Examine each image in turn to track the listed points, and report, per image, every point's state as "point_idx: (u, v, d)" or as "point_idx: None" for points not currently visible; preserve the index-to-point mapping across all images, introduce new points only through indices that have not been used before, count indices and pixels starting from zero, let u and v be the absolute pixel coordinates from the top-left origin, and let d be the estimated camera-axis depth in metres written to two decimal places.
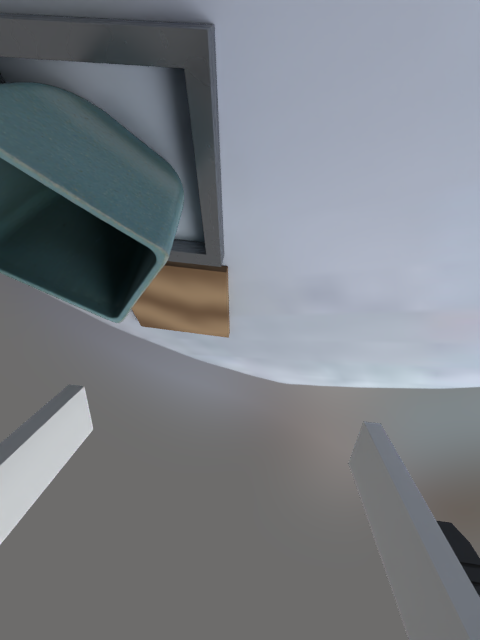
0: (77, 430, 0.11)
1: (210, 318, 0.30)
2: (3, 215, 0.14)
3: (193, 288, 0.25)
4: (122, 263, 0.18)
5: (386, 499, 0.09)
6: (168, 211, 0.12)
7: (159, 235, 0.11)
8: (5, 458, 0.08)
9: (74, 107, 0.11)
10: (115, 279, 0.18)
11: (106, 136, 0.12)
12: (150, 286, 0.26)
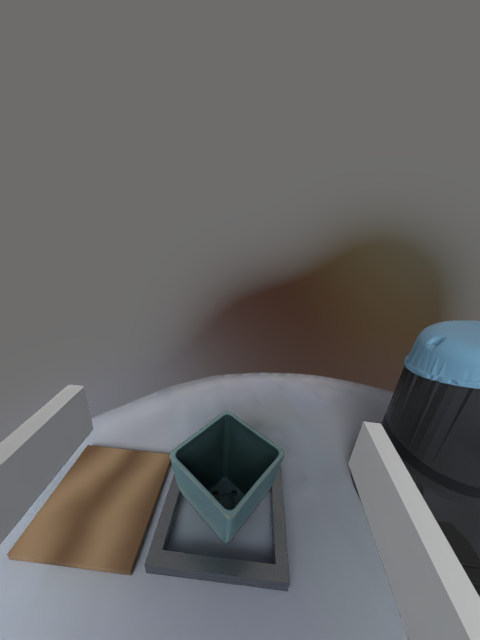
0: (77, 430, 0.11)
1: (64, 533, 0.25)
2: (230, 433, 0.31)
3: (120, 523, 0.26)
4: None
5: (386, 499, 0.09)
6: (234, 527, 0.22)
7: (235, 517, 0.21)
8: (5, 458, 0.08)
9: (264, 495, 0.27)
10: (184, 465, 0.27)
11: (256, 505, 0.26)
12: (135, 479, 0.30)
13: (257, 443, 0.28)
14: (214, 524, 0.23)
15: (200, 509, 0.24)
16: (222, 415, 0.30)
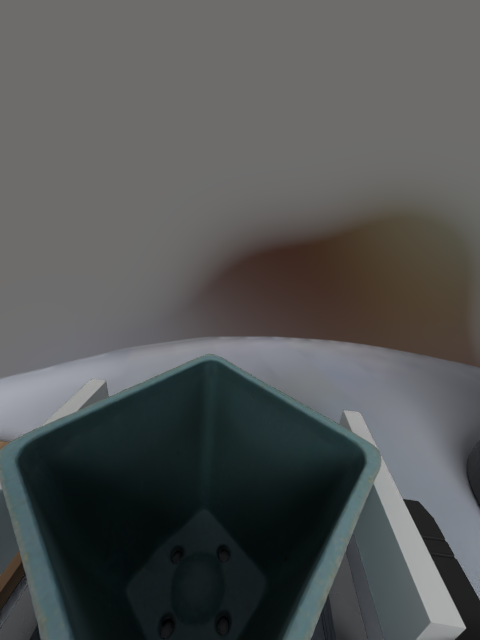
0: None
1: None
2: (219, 407, 0.13)
3: None
4: (89, 509, 0.10)
5: None
6: None
7: None
8: None
9: None
10: (78, 485, 0.09)
11: None
12: None
13: (288, 427, 0.10)
14: None
15: None
16: (199, 361, 0.13)
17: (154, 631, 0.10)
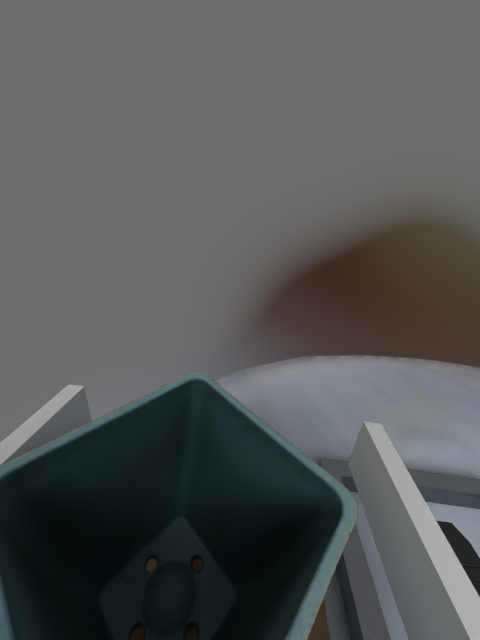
0: None
1: None
2: (202, 424, 0.13)
3: None
4: (64, 529, 0.10)
5: (386, 499, 0.09)
6: None
7: None
8: (5, 458, 0.08)
9: None
10: (52, 510, 0.09)
11: None
12: None
13: (269, 459, 0.10)
14: None
15: None
16: (186, 380, 0.12)
17: None
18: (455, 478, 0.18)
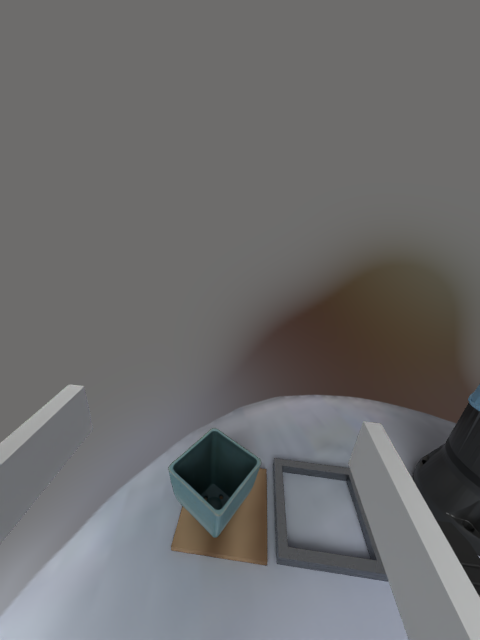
0: (77, 430, 0.11)
1: (206, 531, 0.32)
2: (217, 446, 0.37)
3: (246, 524, 0.33)
4: None
5: (386, 499, 0.09)
6: (222, 523, 0.28)
7: (223, 515, 0.27)
8: (5, 458, 0.08)
9: None
10: (180, 476, 0.33)
11: (239, 505, 0.32)
12: None
13: (239, 454, 0.35)
14: (206, 522, 0.29)
15: (194, 511, 0.30)
16: (210, 432, 0.36)
17: None
18: (332, 466, 0.42)
